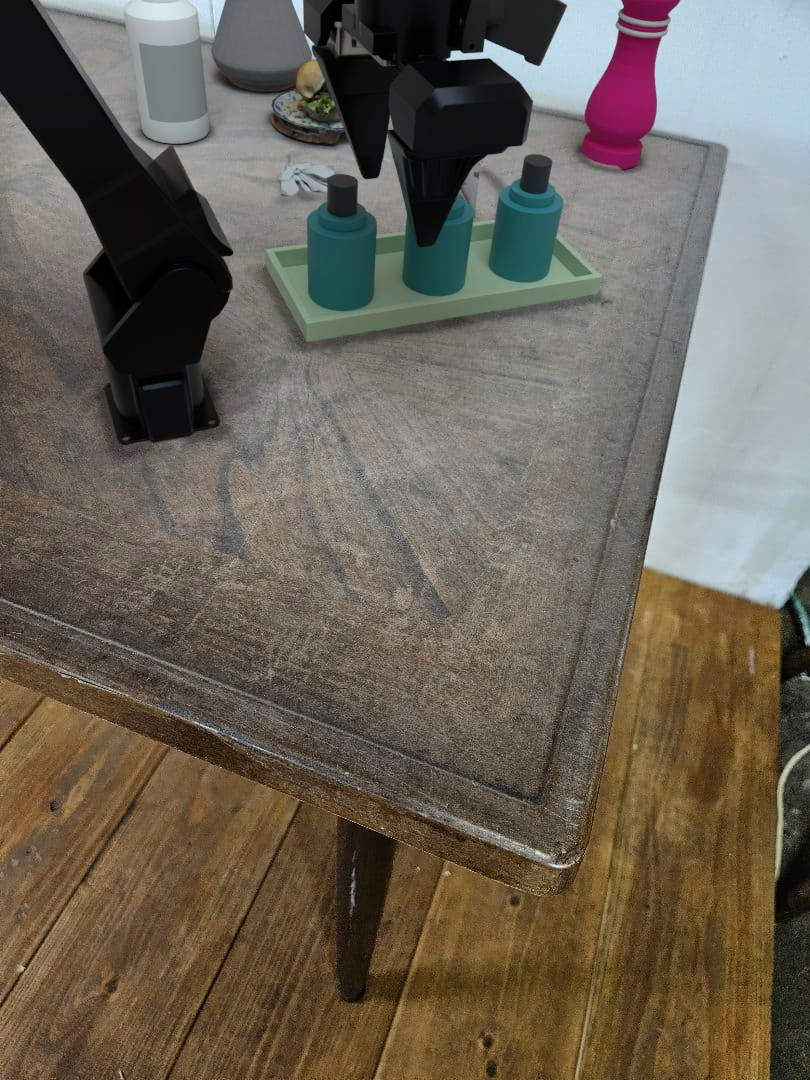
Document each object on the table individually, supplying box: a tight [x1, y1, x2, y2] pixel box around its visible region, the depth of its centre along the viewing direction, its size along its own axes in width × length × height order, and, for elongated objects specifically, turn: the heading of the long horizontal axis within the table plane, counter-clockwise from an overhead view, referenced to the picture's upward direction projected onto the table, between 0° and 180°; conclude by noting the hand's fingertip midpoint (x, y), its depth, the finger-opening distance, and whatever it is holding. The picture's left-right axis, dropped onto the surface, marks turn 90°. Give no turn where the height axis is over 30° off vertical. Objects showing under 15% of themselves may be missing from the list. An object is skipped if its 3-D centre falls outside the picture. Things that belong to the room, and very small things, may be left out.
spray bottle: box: [123, 0, 210, 145], centre depth 79 cm, size 7×7×18 cm
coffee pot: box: [210, 0, 313, 93], centre depth 91 cm, size 21×12×15 cm, turn 96°
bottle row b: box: [306, 173, 378, 311], centre depth 62 cm, size 5×5×9 cm
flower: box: [278, 150, 335, 197], centre depth 78 cm, size 8×8×3 cm
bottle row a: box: [489, 153, 564, 282], centre depth 67 cm, size 5×5×9 cm
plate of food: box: [271, 46, 345, 145], centre depth 87 cm, size 12×12×8 cm
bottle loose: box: [402, 192, 475, 296], centre depth 65 cm, size 5×5×9 cm
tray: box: [264, 219, 603, 343], centre depth 68 cm, size 11×25×2 cm, turn 112°
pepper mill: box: [580, 0, 681, 170], centre depth 81 cm, size 7×7×20 cm
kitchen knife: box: [460, 162, 481, 219], centre depth 82 cm, size 21×2×5 cm
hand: (396, 209), depth 51 cm, fingers open, 9 cm apart
